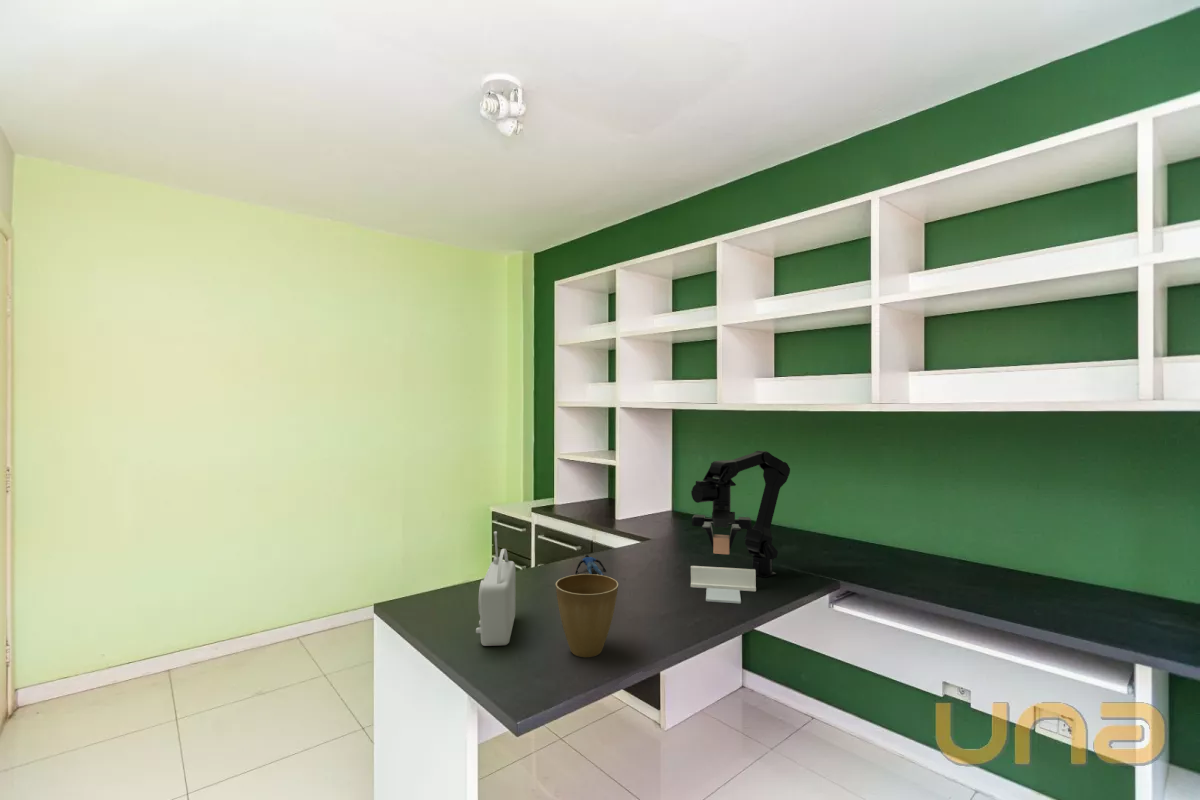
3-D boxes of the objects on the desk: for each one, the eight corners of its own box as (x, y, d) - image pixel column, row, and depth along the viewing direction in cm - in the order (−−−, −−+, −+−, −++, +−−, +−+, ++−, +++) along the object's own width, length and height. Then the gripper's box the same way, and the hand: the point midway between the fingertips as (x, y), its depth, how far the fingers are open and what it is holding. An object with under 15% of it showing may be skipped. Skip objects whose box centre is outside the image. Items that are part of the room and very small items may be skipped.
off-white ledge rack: (691, 583, 177) (691, 564, 177) (755, 587, 172) (754, 568, 172) (690, 587, 173) (690, 568, 173) (756, 591, 168) (755, 572, 169)
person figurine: (613, 587, 179) (600, 564, 196) (614, 574, 178) (601, 552, 196) (581, 589, 176) (571, 566, 194) (581, 576, 176) (571, 553, 193)
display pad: (706, 589, 170) (706, 587, 170) (739, 591, 168) (739, 590, 168) (705, 601, 160) (705, 599, 160) (740, 603, 158) (740, 601, 158)
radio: (486, 616, 150) (485, 525, 151) (516, 614, 151) (515, 524, 151) (473, 651, 129) (472, 546, 129) (508, 650, 129) (507, 545, 129)
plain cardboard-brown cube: (713, 549, 180) (713, 534, 180) (729, 550, 179) (729, 535, 179) (713, 553, 175) (713, 537, 175) (729, 554, 174) (729, 538, 174)
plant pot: (578, 672, 118) (578, 598, 119) (544, 647, 131) (543, 580, 131) (631, 653, 127) (631, 584, 127) (594, 632, 139) (594, 569, 139)
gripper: (690, 503, 171) (690, 552, 171) (752, 505, 167) (751, 556, 167) (693, 497, 182) (693, 544, 182) (750, 499, 178) (750, 547, 178)
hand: (721, 548), depth 177 cm, fingers closed on plain cardboard-brown cube, 5 cm apart
